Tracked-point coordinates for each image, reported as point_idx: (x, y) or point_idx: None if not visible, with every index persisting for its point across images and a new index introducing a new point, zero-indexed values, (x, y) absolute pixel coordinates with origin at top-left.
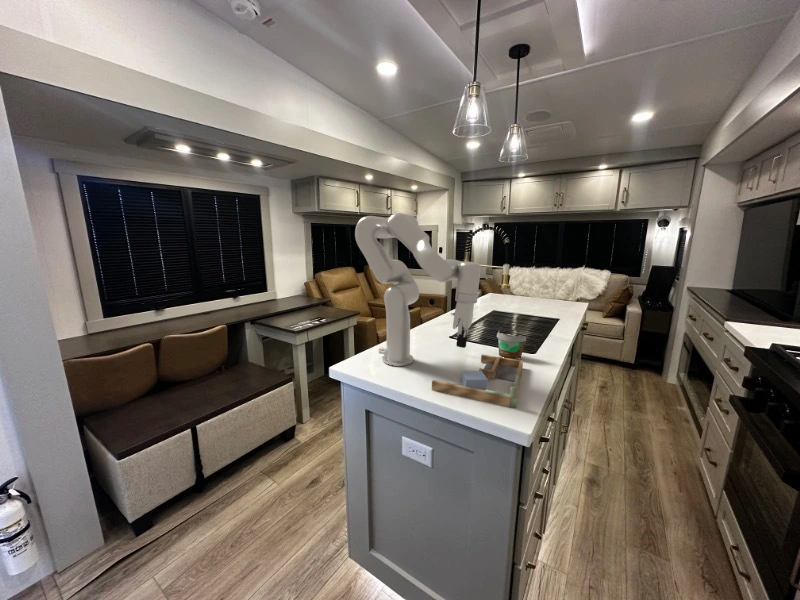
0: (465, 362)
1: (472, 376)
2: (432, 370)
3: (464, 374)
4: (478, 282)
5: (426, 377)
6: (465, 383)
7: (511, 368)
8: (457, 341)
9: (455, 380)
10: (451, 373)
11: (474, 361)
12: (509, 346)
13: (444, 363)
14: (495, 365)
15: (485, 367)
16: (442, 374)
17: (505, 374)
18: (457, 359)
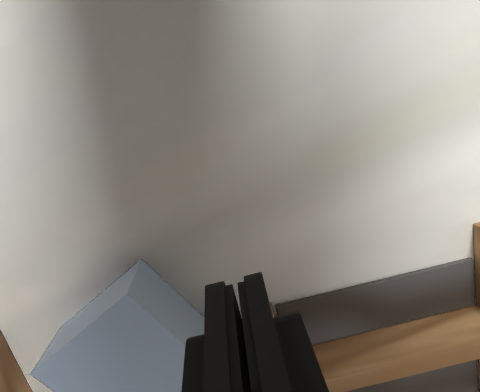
0: (423, 146)
1: (100, 377)
2: (147, 26)
3: (88, 333)
4: None
5: (15, 61)
6: (56, 340)
7: (456, 383)
8: (206, 335)
9: (123, 232)
10: (196, 164)
11: (470, 185)
12: None
13: (323, 29)
14: (376, 378)
15: (397, 284)
16: (140, 125)
17: (361, 390)
18: (449, 71)
